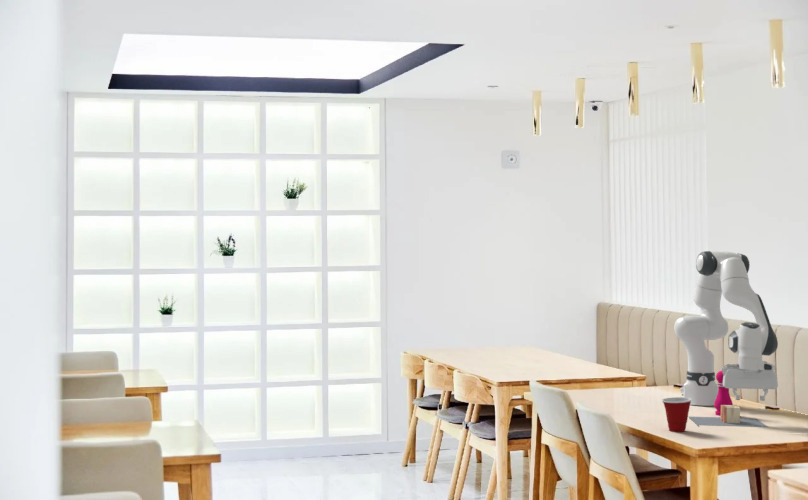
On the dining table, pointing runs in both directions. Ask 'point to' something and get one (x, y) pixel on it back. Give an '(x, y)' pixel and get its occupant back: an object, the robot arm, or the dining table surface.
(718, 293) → the robot arm
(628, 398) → the dining table surface
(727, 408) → the maple cube
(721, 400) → the pepper mill
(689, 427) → the dining table surface
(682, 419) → the plastic cup
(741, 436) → the dining table surface
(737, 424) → the slate mat
